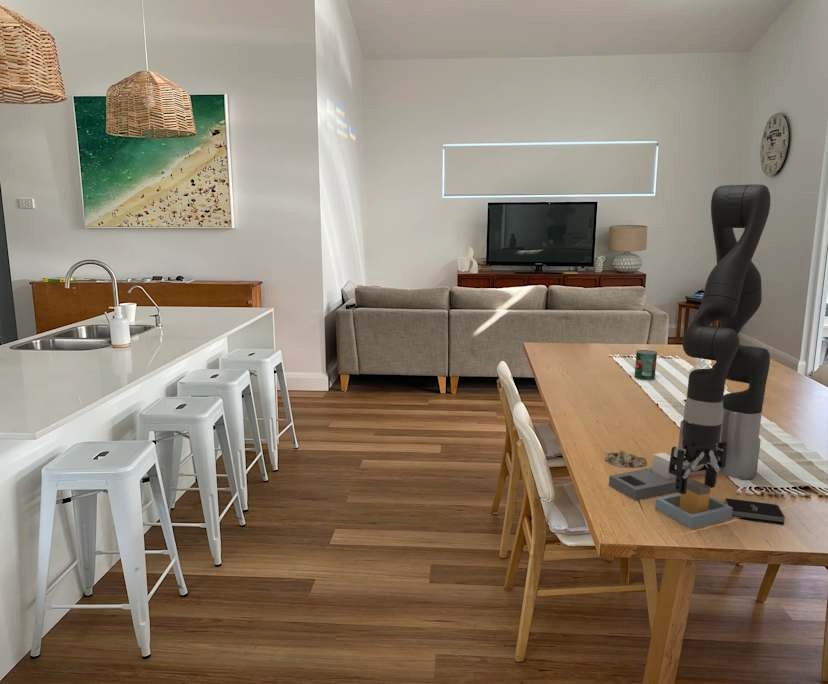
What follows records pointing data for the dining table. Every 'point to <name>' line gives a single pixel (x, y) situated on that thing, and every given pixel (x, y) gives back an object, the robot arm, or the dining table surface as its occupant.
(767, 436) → the dining table surface
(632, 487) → the fuse holder
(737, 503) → the external hard drive
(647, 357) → the canned tomato
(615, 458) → the mineral rock
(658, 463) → the block
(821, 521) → the dining table surface
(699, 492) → the block
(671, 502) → the parts tray
